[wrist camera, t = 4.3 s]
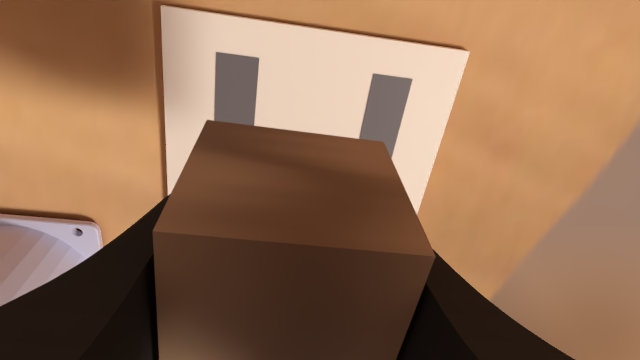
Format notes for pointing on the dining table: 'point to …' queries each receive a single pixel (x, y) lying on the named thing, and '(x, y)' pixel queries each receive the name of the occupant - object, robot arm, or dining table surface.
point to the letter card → (306, 86)
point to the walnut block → (287, 249)
